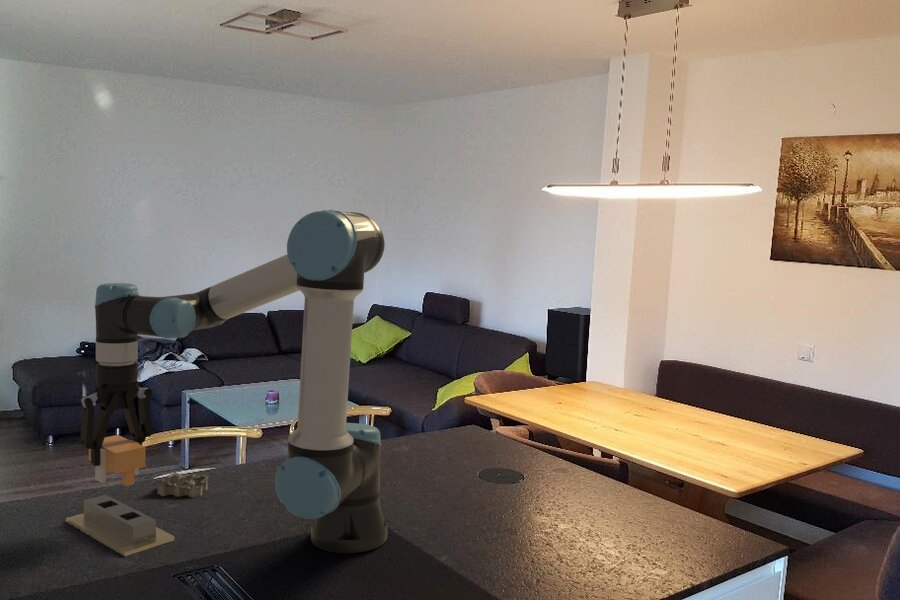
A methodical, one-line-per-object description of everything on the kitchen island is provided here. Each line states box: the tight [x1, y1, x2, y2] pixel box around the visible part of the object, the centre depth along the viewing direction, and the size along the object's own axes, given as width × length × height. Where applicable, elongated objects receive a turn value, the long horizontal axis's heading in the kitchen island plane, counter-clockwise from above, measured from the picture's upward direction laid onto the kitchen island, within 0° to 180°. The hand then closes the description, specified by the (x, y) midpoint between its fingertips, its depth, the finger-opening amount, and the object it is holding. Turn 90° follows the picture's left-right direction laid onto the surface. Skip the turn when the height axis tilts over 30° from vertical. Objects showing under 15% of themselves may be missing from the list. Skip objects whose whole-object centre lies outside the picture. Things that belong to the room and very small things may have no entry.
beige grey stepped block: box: [65, 494, 175, 557], centre depth 149 cm, size 24×10×4 cm, turn 51°
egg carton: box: [155, 472, 210, 498], centre depth 172 cm, size 11×8×4 cm
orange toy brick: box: [88, 434, 147, 486], centre depth 148 cm, size 11×6×7 cm, turn 51°
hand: (117, 476), depth 148 cm, fingers closed on orange toy brick, 6 cm apart
